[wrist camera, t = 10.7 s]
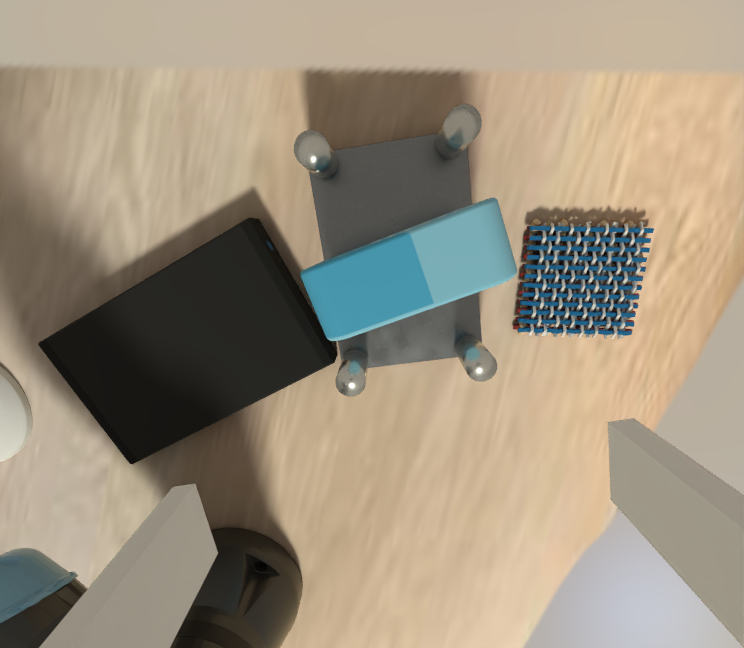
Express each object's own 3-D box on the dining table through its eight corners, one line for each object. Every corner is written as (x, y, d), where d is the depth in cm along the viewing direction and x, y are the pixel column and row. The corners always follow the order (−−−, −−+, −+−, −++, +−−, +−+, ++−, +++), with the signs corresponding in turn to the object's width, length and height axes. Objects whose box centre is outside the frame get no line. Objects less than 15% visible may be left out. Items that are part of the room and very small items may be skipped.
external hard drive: (65, 334, 36) (37, 342, 33) (260, 218, 32) (248, 217, 30) (150, 448, 39) (131, 465, 36) (338, 352, 35) (334, 363, 32)
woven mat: (623, 336, 34) (638, 343, 32) (509, 333, 34) (516, 339, 32) (646, 220, 31) (664, 220, 29) (522, 218, 32) (531, 217, 30)
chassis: (345, 371, 35) (337, 398, 29) (307, 152, 31) (289, 133, 25) (480, 354, 34) (499, 379, 29) (463, 126, 30) (481, 100, 24)
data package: (459, 208, 30) (504, 193, 19) (474, 259, 31) (527, 275, 20) (326, 259, 32) (292, 274, 20) (345, 307, 33) (323, 347, 21)
